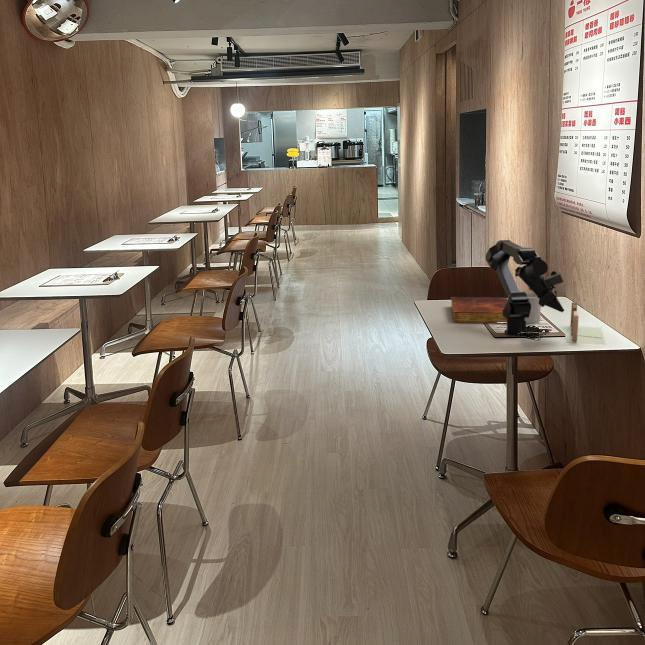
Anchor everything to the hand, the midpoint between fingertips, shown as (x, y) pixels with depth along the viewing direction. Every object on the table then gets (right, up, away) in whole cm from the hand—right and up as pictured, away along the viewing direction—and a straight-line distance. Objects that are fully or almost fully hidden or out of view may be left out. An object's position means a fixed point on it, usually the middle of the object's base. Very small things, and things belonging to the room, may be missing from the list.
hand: (563, 311), depth 291 cm
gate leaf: (+5, -10, +3) cm, 11 cm away
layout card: (+11, -9, +9) cm, 17 cm away
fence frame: (+8, -7, +15) cm, 19 cm away
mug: (-4, -4, +32) cm, 33 cm away
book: (-21, -2, +44) cm, 49 cm away
